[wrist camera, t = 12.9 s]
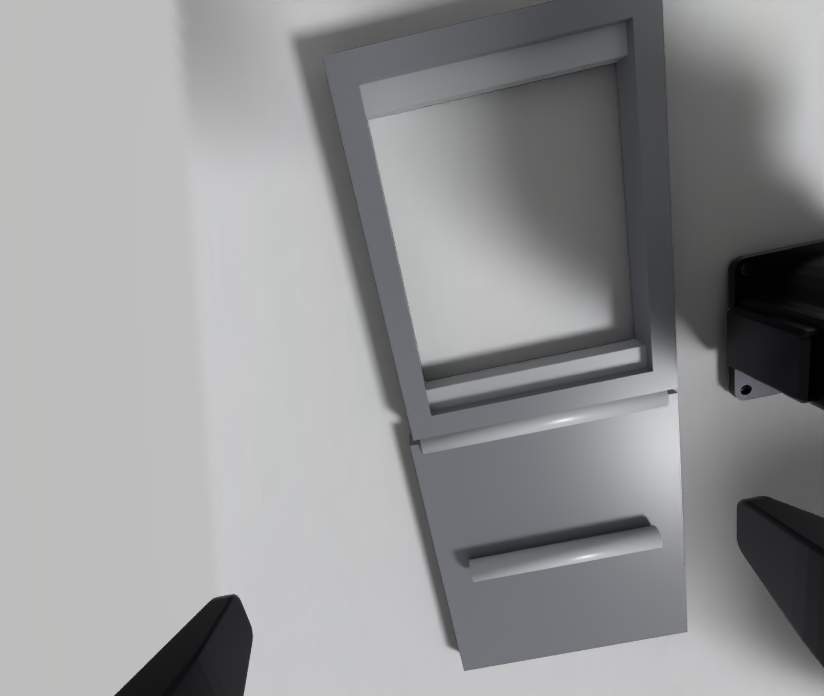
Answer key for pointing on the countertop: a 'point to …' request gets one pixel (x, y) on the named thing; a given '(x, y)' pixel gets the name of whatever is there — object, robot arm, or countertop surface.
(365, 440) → the countertop surface
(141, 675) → the robot arm
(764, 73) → the countertop surface
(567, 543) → the grey flat frame
